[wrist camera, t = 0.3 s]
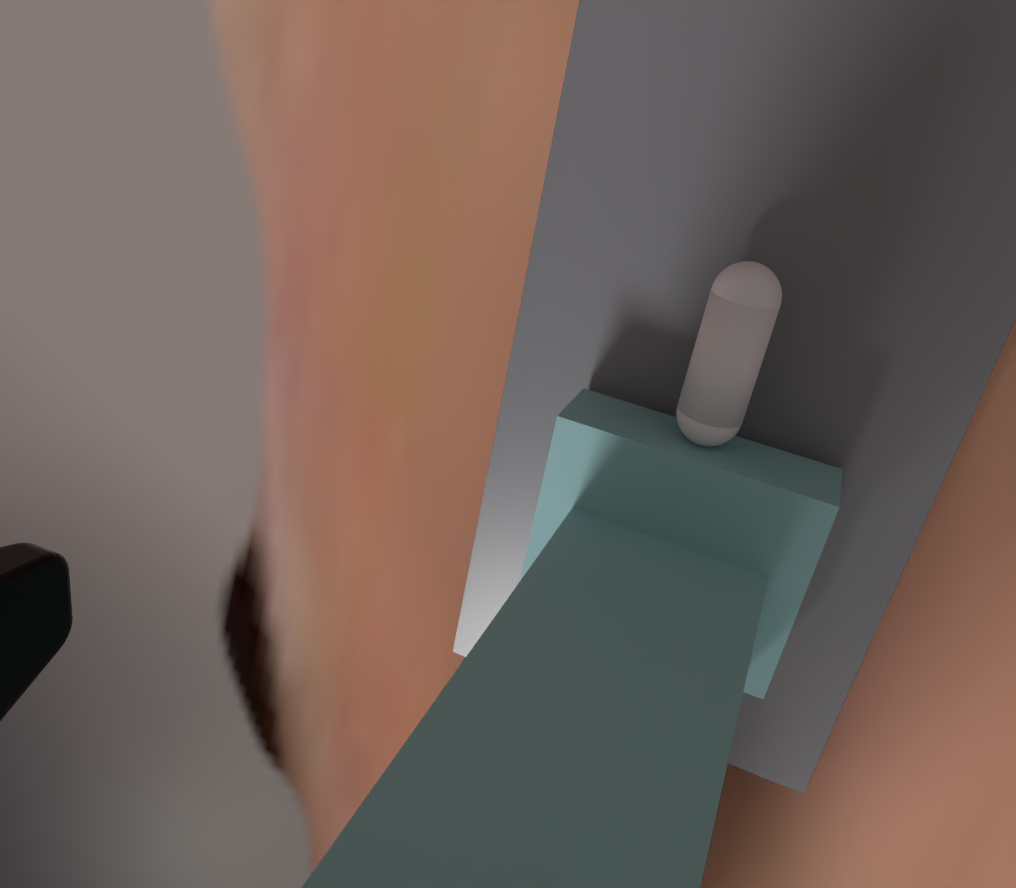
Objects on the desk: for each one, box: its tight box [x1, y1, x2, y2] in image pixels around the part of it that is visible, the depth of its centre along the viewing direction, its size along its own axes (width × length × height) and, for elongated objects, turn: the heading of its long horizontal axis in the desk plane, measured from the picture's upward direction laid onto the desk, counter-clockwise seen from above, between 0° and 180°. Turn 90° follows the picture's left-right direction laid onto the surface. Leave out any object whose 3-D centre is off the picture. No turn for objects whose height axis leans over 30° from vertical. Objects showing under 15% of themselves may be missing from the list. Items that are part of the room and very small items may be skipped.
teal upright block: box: [302, 261, 843, 888], centre depth 14 cm, size 9×6×14 cm, turn 169°
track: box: [453, 0, 1016, 794], centre depth 16 cm, size 23×10×10 cm, turn 169°
